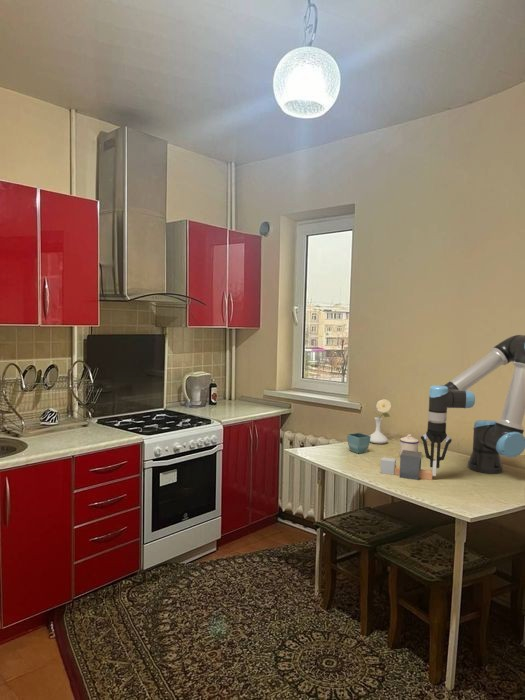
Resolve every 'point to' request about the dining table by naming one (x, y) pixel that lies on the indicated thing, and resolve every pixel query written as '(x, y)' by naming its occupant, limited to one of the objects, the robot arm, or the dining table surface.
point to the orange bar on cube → (390, 468)
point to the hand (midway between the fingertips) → (434, 474)
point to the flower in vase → (382, 407)
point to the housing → (410, 464)
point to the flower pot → (358, 442)
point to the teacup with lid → (408, 444)
